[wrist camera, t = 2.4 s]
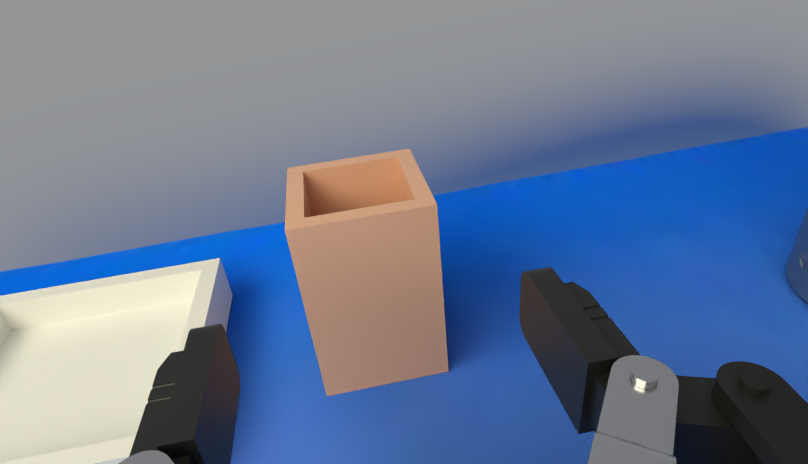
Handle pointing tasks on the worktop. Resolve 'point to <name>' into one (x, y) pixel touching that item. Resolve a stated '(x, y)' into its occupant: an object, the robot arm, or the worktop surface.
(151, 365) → the tray
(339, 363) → the cup
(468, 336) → the worktop surface
